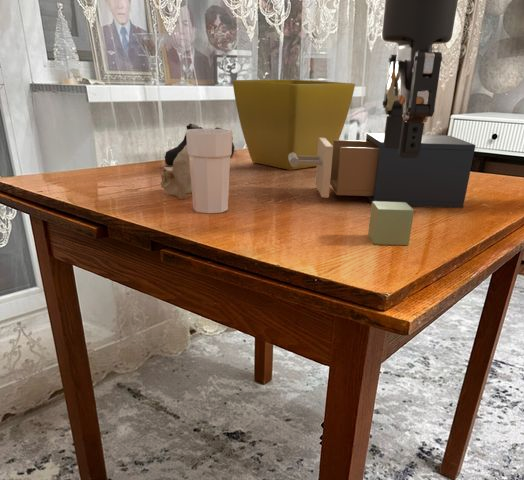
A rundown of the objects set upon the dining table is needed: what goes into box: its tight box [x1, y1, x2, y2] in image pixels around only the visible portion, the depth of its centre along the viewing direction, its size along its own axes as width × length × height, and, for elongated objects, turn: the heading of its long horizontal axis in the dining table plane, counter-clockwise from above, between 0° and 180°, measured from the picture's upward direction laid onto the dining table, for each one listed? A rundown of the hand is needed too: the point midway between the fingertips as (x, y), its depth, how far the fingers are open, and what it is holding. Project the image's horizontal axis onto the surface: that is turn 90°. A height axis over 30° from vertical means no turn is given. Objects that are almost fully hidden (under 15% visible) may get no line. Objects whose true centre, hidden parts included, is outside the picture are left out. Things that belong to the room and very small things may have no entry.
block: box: [367, 201, 415, 246], centre depth 68 cm, size 4×4×4 cm
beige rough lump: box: [160, 144, 192, 200], centre depth 88 cm, size 9×6×10 cm
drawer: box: [288, 138, 379, 199], centre depth 90 cm, size 19×11×8 cm, turn 90°
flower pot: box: [232, 79, 356, 171], centre depth 118 cm, size 19×19×17 cm
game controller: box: [164, 123, 236, 167], centre depth 112 cm, size 16×7×10 cm, turn 43°
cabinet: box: [365, 132, 476, 209], centre depth 90 cm, size 15×13×10 cm
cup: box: [185, 128, 233, 214], centre depth 79 cm, size 7×7×11 cm
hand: (399, 152), depth 65 cm, fingers open, 8 cm apart
